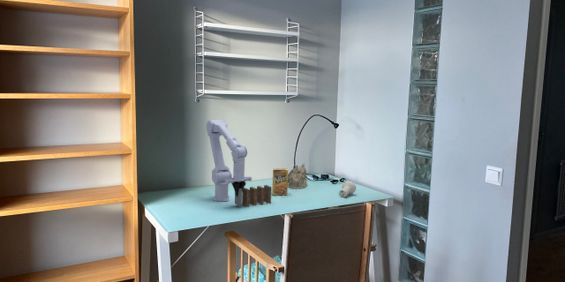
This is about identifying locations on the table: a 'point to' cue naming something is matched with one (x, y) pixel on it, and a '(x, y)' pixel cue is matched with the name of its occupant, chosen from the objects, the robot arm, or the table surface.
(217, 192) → the robot arm
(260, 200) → the domino
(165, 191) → the table surface
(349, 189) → the pale grey rounded lump
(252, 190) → the domino
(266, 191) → the domino
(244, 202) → the domino
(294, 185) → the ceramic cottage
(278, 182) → the candy box
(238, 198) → the domino
